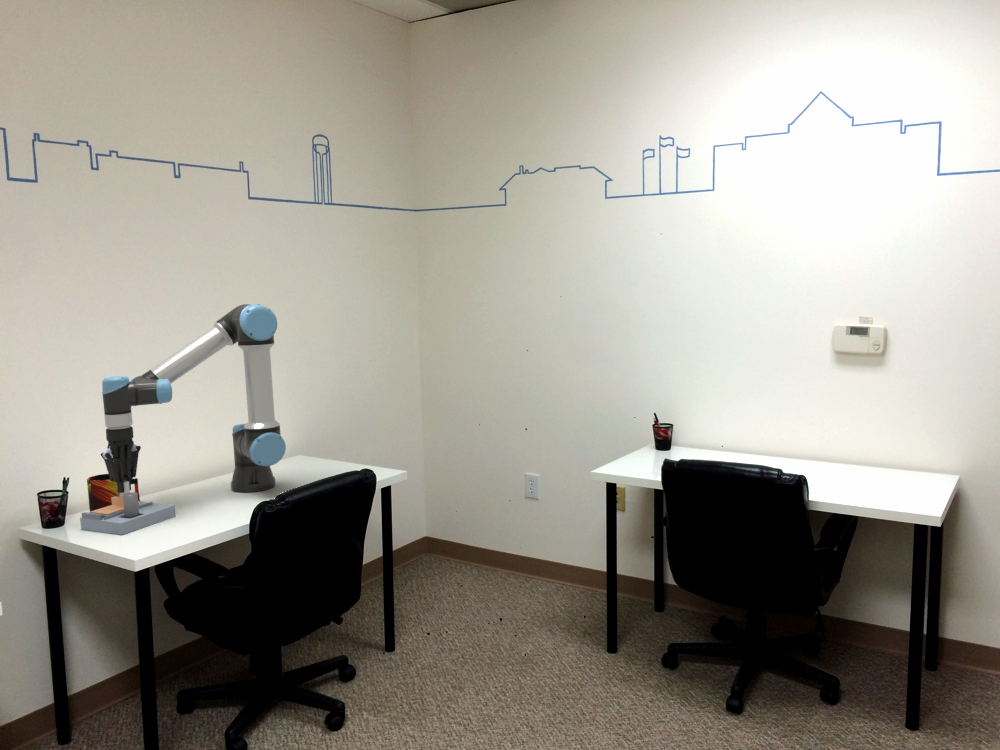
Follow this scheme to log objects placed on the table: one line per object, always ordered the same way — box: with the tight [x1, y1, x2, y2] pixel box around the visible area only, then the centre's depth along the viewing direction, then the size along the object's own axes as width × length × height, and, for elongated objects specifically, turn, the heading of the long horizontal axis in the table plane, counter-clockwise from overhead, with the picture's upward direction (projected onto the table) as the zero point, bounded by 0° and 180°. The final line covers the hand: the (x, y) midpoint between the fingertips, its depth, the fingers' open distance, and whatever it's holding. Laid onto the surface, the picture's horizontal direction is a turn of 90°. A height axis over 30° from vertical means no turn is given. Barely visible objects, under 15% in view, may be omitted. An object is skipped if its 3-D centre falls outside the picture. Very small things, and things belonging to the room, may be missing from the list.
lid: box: [89, 496, 124, 516], centre depth 241 cm, size 9×7×3 cm
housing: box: [79, 501, 177, 536], centre depth 242 cm, size 20×17×5 cm
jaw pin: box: [123, 492, 139, 519], centre depth 238 cm, size 4×4×10 cm
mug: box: [86, 473, 141, 512], centre depth 255 cm, size 10×14×12 cm
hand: (125, 502), depth 246 cm, fingers closed
